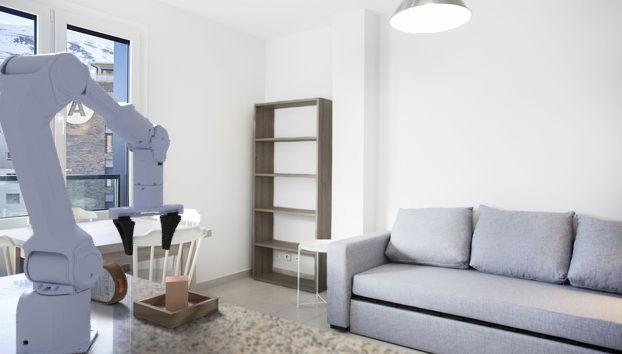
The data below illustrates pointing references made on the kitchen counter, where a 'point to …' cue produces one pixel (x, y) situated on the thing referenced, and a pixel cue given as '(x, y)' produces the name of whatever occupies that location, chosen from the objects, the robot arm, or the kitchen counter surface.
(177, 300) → the block
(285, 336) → the kitchen counter surface
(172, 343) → the kitchen counter surface
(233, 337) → the kitchen counter surface
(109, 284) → the tin
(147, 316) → the tray
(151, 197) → the robot arm
